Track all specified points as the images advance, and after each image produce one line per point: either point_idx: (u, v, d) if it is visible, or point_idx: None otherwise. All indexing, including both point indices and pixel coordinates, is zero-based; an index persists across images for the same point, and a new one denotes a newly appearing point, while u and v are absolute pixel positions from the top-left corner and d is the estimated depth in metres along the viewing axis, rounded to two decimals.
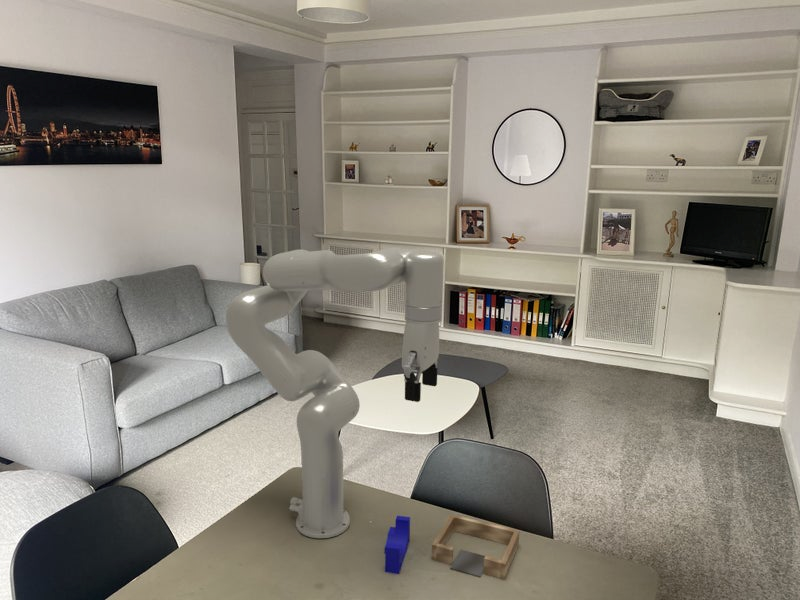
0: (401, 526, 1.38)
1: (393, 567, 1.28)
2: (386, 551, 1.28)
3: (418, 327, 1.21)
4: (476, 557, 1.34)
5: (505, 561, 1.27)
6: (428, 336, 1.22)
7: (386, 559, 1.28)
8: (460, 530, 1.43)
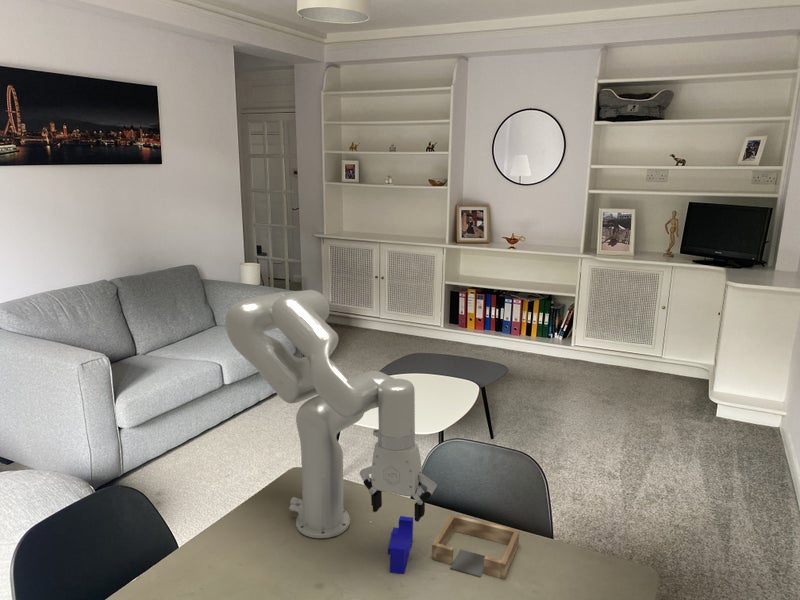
0: (404, 526, 1.37)
1: (398, 568, 1.28)
2: (391, 552, 1.28)
3: (417, 449, 1.28)
4: (476, 557, 1.34)
5: (505, 561, 1.27)
6: None
7: (391, 560, 1.28)
8: (460, 530, 1.43)
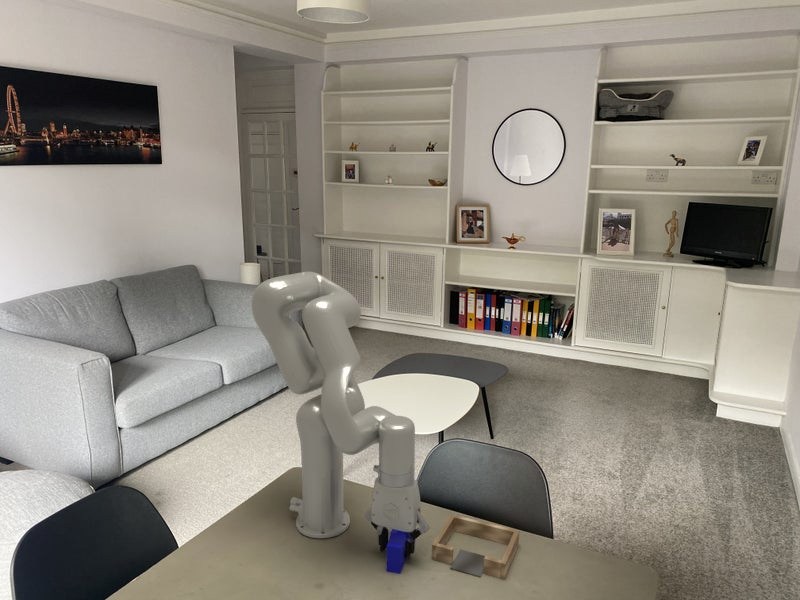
0: None
1: (394, 566, 1.28)
2: (387, 550, 1.28)
3: (417, 486, 1.30)
4: (476, 557, 1.34)
5: (505, 561, 1.27)
6: None
7: (387, 558, 1.28)
8: (460, 530, 1.43)
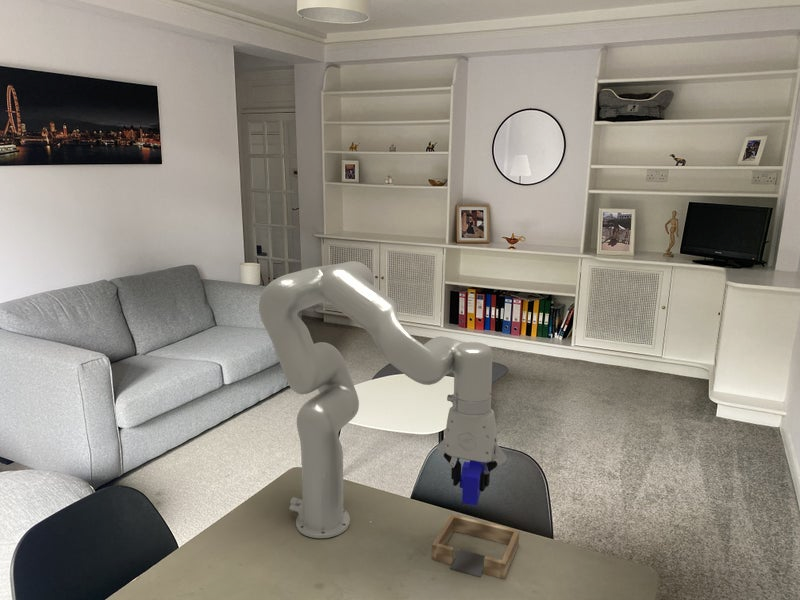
0: None
1: (470, 497, 1.23)
2: (463, 480, 1.23)
3: (494, 415, 1.25)
4: (476, 557, 1.34)
5: (505, 561, 1.27)
6: None
7: (463, 489, 1.23)
8: (460, 530, 1.43)
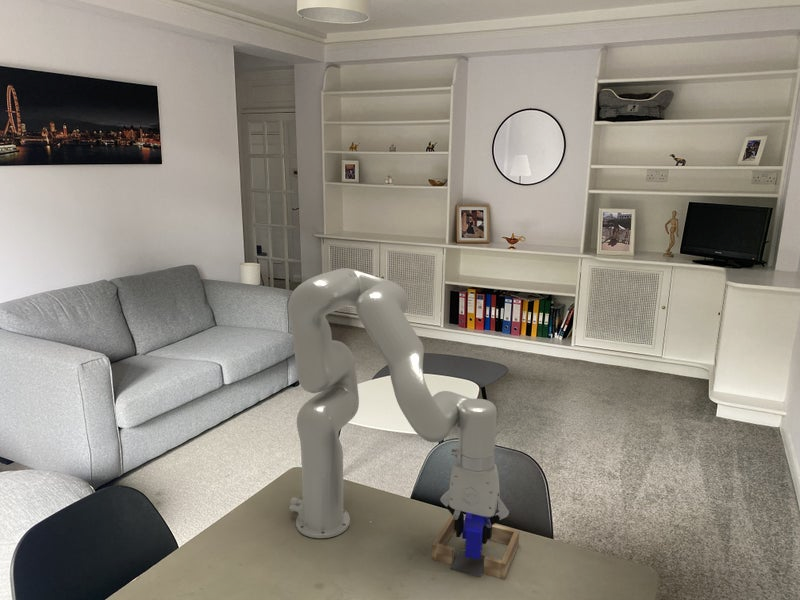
0: None
1: (473, 551, 1.26)
2: (467, 535, 1.26)
3: (497, 470, 1.27)
4: None
5: (505, 561, 1.27)
6: None
7: (466, 543, 1.26)
8: None
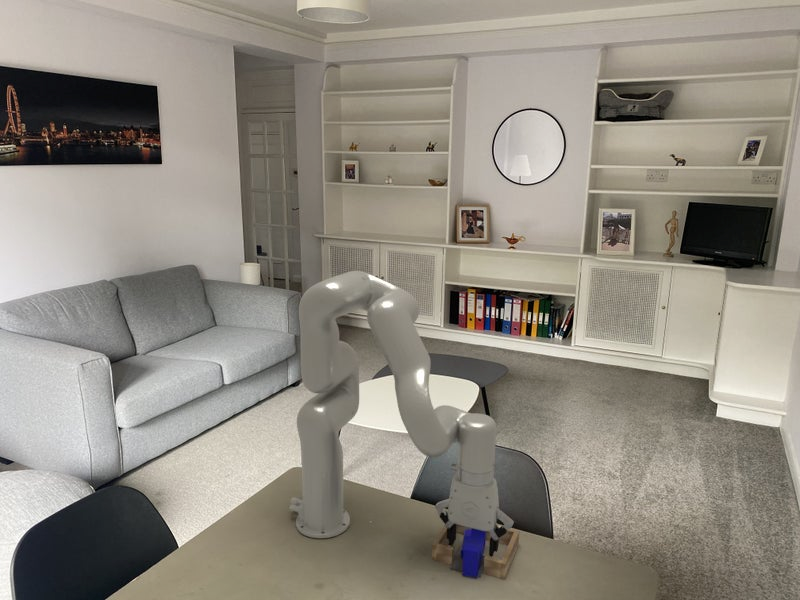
0: None
1: (470, 570, 1.27)
2: (464, 553, 1.27)
3: (496, 485, 1.28)
4: None
5: (505, 561, 1.27)
6: None
7: (464, 561, 1.27)
8: (460, 530, 1.43)
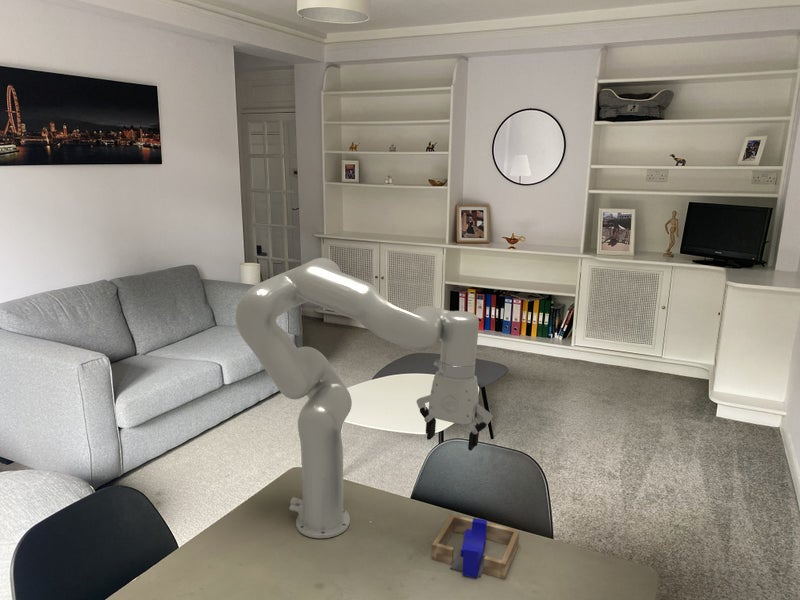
0: (478, 529, 1.36)
1: (471, 570, 1.27)
2: (464, 553, 1.27)
3: None
4: None
5: (505, 561, 1.27)
6: None
7: (464, 561, 1.27)
8: (460, 530, 1.43)
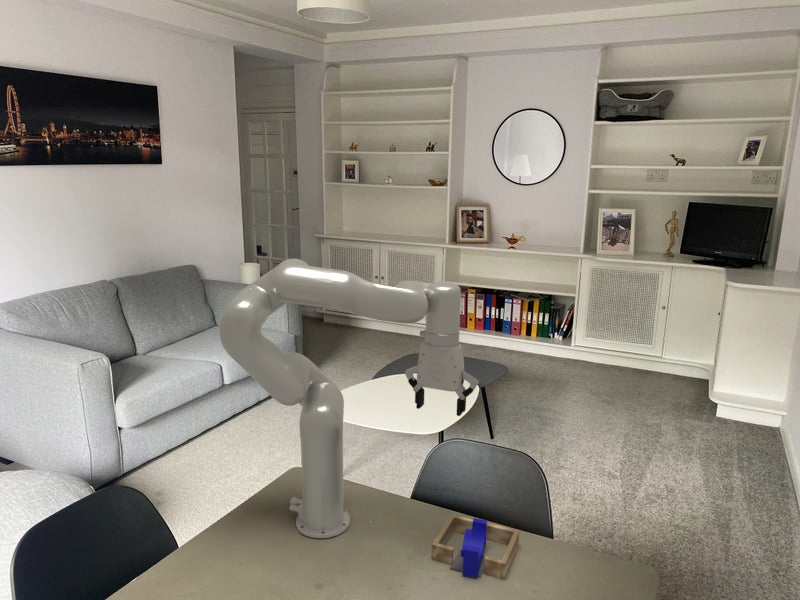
0: (478, 529, 1.36)
1: (471, 570, 1.27)
2: (464, 553, 1.27)
3: (461, 348, 1.37)
4: None
5: (505, 561, 1.27)
6: None
7: (464, 561, 1.27)
8: (460, 530, 1.43)
